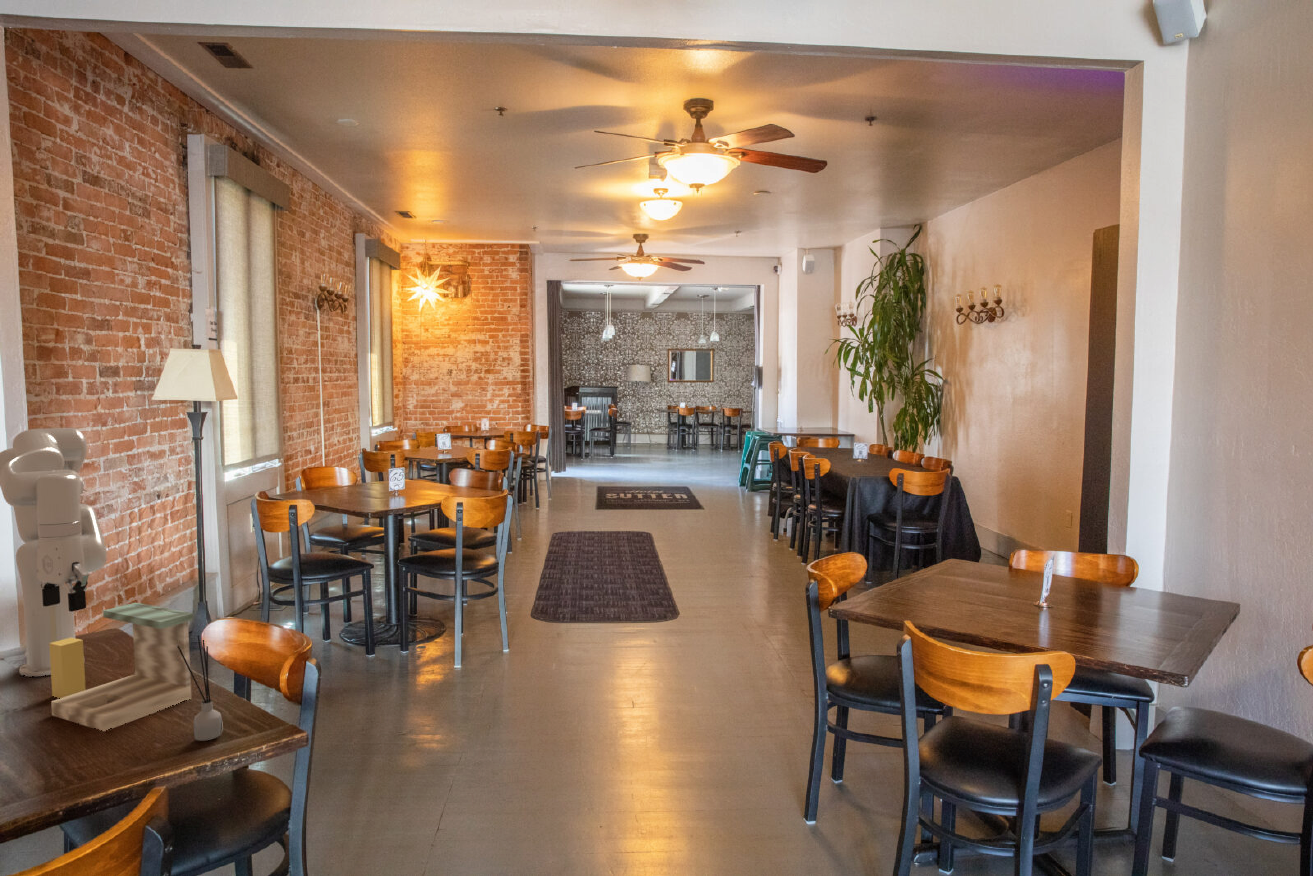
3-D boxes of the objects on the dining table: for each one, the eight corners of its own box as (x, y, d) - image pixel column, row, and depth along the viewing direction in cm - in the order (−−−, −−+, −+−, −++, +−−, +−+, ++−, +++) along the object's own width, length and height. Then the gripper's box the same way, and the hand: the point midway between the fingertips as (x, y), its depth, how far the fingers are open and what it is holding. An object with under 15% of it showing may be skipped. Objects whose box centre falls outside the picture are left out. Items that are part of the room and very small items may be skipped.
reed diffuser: (227, 743, 152) (223, 640, 150) (186, 754, 147) (181, 648, 146) (216, 726, 159) (212, 628, 158) (177, 735, 155) (172, 635, 154)
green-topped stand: (49, 714, 165) (44, 625, 164) (139, 684, 182) (135, 602, 181) (107, 732, 157) (102, 638, 155) (196, 698, 173) (192, 613, 172)
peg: (52, 696, 175) (49, 643, 174) (74, 689, 179) (71, 637, 178) (63, 700, 173) (60, 646, 172) (85, 692, 177) (82, 640, 176)
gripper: (18, 530, 174) (22, 607, 175) (64, 536, 166) (68, 616, 167) (56, 524, 180) (60, 599, 182) (102, 530, 173) (106, 607, 174)
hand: (64, 607), depth 174 cm, fingers open, 9 cm apart
